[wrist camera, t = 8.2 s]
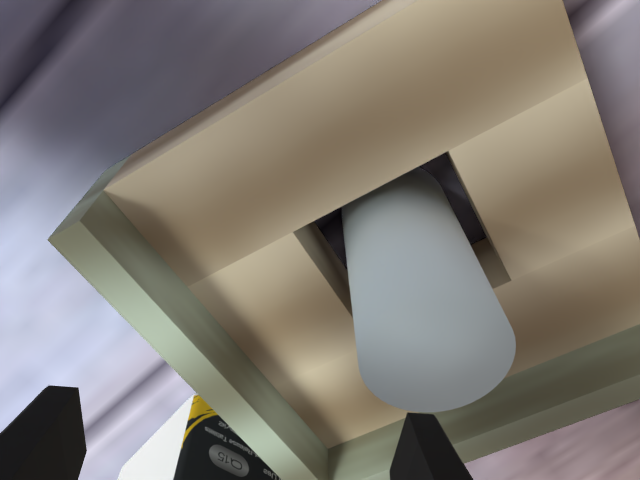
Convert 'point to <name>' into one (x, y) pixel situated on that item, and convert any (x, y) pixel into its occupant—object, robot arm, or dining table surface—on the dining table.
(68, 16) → the dining table surface
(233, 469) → the medicine box
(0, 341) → the dining table surface
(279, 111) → the socket block
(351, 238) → the peg
